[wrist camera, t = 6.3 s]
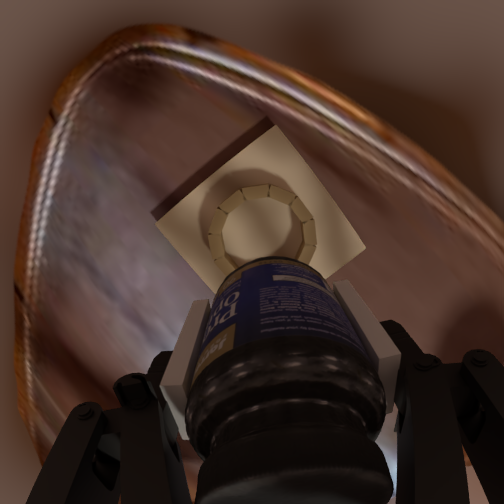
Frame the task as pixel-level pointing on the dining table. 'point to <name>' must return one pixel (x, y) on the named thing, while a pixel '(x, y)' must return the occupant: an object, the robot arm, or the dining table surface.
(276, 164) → the square socket plate
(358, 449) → the pill bottle
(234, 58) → the dining table surface
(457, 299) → the dining table surface
